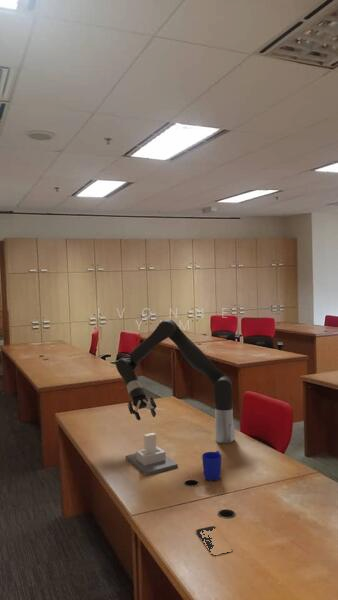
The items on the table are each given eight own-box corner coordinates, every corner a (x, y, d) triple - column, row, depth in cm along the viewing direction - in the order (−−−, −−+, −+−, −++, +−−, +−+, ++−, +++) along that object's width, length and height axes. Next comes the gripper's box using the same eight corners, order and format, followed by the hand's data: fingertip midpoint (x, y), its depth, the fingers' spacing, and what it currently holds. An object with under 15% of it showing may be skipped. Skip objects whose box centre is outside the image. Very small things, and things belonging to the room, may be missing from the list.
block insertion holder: (177, 467, 209) (177, 455, 208) (146, 475, 201) (146, 463, 200) (155, 451, 228) (154, 440, 227) (125, 458, 220) (125, 447, 220)
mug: (227, 472, 202) (226, 450, 201) (218, 483, 191) (217, 460, 190) (209, 469, 205) (209, 447, 205) (199, 480, 194) (199, 457, 194)
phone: (212, 555, 142) (194, 529, 156) (212, 558, 142) (194, 532, 156) (234, 550, 144) (214, 525, 159) (234, 552, 144) (214, 527, 159)
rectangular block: (156, 459, 214) (155, 434, 214) (147, 461, 212) (146, 436, 211) (154, 457, 217) (153, 432, 216) (144, 460, 214) (143, 434, 213)
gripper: (125, 389, 234) (136, 416, 224) (150, 384, 241) (161, 411, 232) (121, 397, 238) (132, 424, 229) (145, 392, 246) (157, 419, 236)
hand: (147, 418), depth 230 cm, fingers open, 8 cm apart
